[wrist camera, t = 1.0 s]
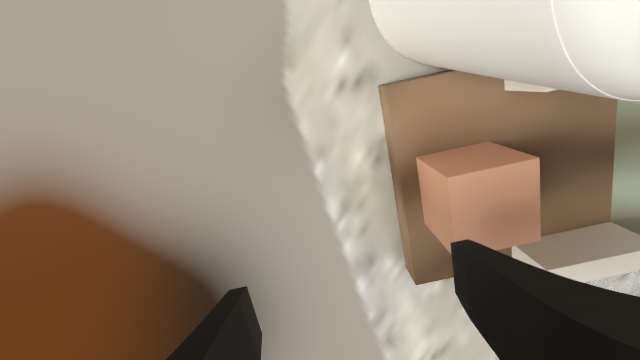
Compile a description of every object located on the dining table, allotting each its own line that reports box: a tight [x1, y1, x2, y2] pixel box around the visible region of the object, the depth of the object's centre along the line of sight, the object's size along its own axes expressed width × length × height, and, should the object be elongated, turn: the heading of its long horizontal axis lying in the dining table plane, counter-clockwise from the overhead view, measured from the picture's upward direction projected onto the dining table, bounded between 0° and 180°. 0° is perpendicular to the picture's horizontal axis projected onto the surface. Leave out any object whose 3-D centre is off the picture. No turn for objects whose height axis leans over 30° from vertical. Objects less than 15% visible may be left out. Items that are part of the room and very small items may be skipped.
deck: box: [378, 70, 640, 285], centre depth 19 cm, size 12×24×2 cm, turn 102°
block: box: [416, 141, 541, 255], centre depth 16 cm, size 4×4×4 cm
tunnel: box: [504, 79, 640, 283], centre depth 17 cm, size 11×6×3 cm, turn 12°
